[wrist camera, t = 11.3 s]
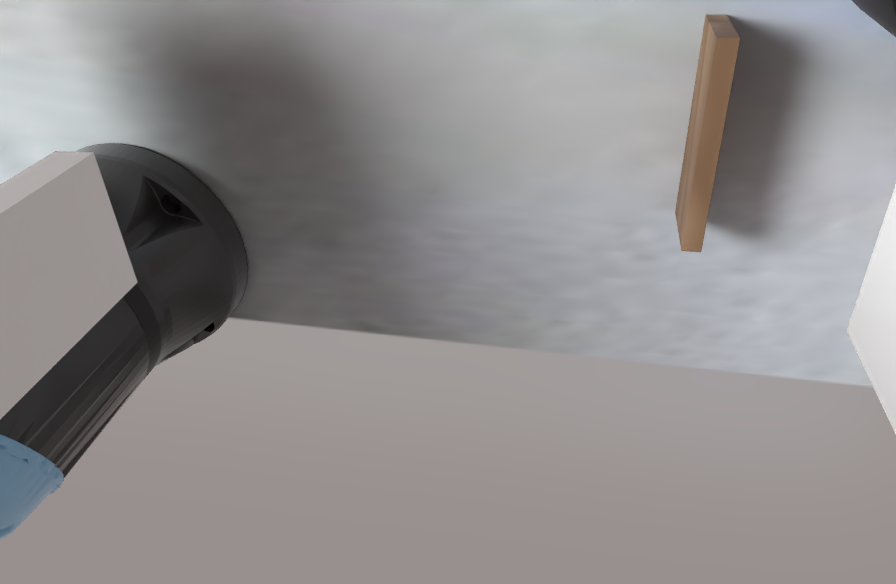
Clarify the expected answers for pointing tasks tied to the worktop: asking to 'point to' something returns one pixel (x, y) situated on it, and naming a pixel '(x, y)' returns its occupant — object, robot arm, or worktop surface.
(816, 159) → the worktop surface
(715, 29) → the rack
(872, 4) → the mug
